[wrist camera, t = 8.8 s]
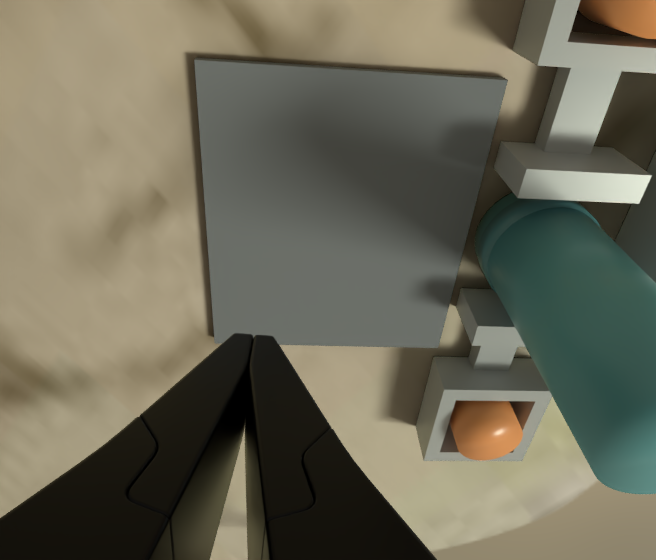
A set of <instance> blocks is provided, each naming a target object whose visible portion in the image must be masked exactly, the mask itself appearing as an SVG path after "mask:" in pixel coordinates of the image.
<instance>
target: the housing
mask: <svg viewBox="0 0 656 560" xmlns="http://www.w3.org/2000/svg"><path fill="white" fill-rule="evenodd" d="M579 3H580V0H525V4H524V8H523V12H522V16H521V20H520V23H519V27H518V31H517V35H516V39H515V43H514V47H513V51H514V52H515V53H517V54H519V55H520V56H522V57H524V58H526V59H527V60H529V61H531V62H532V63H534V64H536V65H537V66H552V67H558V70H557V73H556V76H555V79H554V83H553V86H552V89H551V92H550V96H549V99H548V102H547V105H546V109H545V112H544V115H543V118H542V121H541V125H540V128H539V131H538V134H537V138H536V141H535V143H521V142H503V141H501V142H500V146H499V150H498V153H497V157H496V161H495V164H494V169H495V171H496V172H497V173H498V174H499V176H500V177H501V178H502V179H503V181H504V182H505V183H506V184H507V185H508V187H509V188H510V189H511V190H512V192H513V193H514V194H515V195H516V197H517V198H526V199H548V200H569V201H591V202H613V203H632V205H631V207H630V209H629V211H628V214H627V216H626V218H625V220H624V222H623V225H622V227H621V229H620V231H619V233H618V236H617V238H616V240H615V243H616V244H617V245H618V246H619V247H620V248H621V249H622V250H623V251H624V252H625V253H626V254H627V255H628V256H629V257H630V258H631V259H632V260H633V261H634V262H635V263H636V264H637V265H638V266H639V267H640V268H641V269H642V270H643V271H644V272H645V273H646V274H647V275H648V276H649V277H650V278H651V279H652V280H653V281H654V282H655V283H656V152H655V154H654V156H653V158H652V160H651V163H650V165H649V167H648V169H647V172H646V171H645V170H644V169H642V168H641V167H639V166H638V165H637V164H635V163H634V162H632V161H631V160H629V159H628V158H627V157H625V156H624V155H622V154H621V153H620V152H618V151H617V150H615V149H614V148H612V147H594V143H595V141H596V138H597V135H598V133H599V130H600V128H601V125H602V122H603V120H604V117H605V114H606V112H607V109H608V106H609V104H610V101H611V98H612V96H613V93H614V91H615V88H616V85H617V83H618V80H619V77H620V75H621V72H622V71H626V72H640V73H655V74H656V39H646V38H641V37H634V36H621V35H607V34H594V33H580V32H571V29H572V26H573V23H574V20H575V16H576V13H577V10H578V7H579ZM456 308H457V311H458V313H459V316H460V318H461V320H462V323H463V325H464V328H465V330H466V332H467V335H468V337H469V340H470V342H471V345H472V347H471V350H470V354H469V357H434V358H433V361H432V365H431V369H430V373H429V377H428V381H427V385H426V389H425V393H424V396H423V400H422V404H421V408H420V412H419V416H418V420H417V424H416V430H417V434H418V438H419V443H420V447H421V451H422V456H423V460H424V461H522V460H523V458H524V456H525V454H526V452H527V449H528V447H529V445H530V443H531V441H532V439H533V437H534V434H535V432H536V430H537V428H538V426H539V424H540V421H541V419H542V417H543V415H544V413H545V411H546V409H547V406H548V404H549V402H550V400H551V398H552V395H551V393H550V391H549V389H548V387H547V385H546V384H545V382H544V380H543V378H542V376H541V374H540V372H539V371H538V369H537V367H536V365H535V363H534V361H533V359H532V358H513V357H514V355H515V352H516V350H517V347H526V346H525V345H524V343H523V341H522V339H521V337H520V335H519V334H518V332H517V330H516V328H515V326H514V324H513V322H512V321H511V319H510V317H509V315H508V313H507V311H506V309H505V308H504V306H503V304H502V302H501V300H500V298H499V296H498V295H497V293H496V292H495V291H494V290H493V289H467V288H461V290H460V294H459V297H458V301H457V305H456ZM456 400H462V401H509V402H510V404H511V406H512V408H513V411H514V413H515V415H516V417H517V420H518V422H519V424H520V426H521V429H522V432H523V437H522V440H521V442H520V444H519V445H518V446H517V447H516V448H515V449H514V450H513V451H511V452H510V453H508V454H506V455H504V456H502V457H499V458H496V459H492V460H473V459H469V458H467V457H465V456H463V455H462V454H461V453H460V452H459V451H458V448H457V445H456V442H455V439H454V435H453V432H452V429H451V425H450V422H449V421H450V418H451V414H452V411H453V408H454V405H455V402H456Z"/></svg>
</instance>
